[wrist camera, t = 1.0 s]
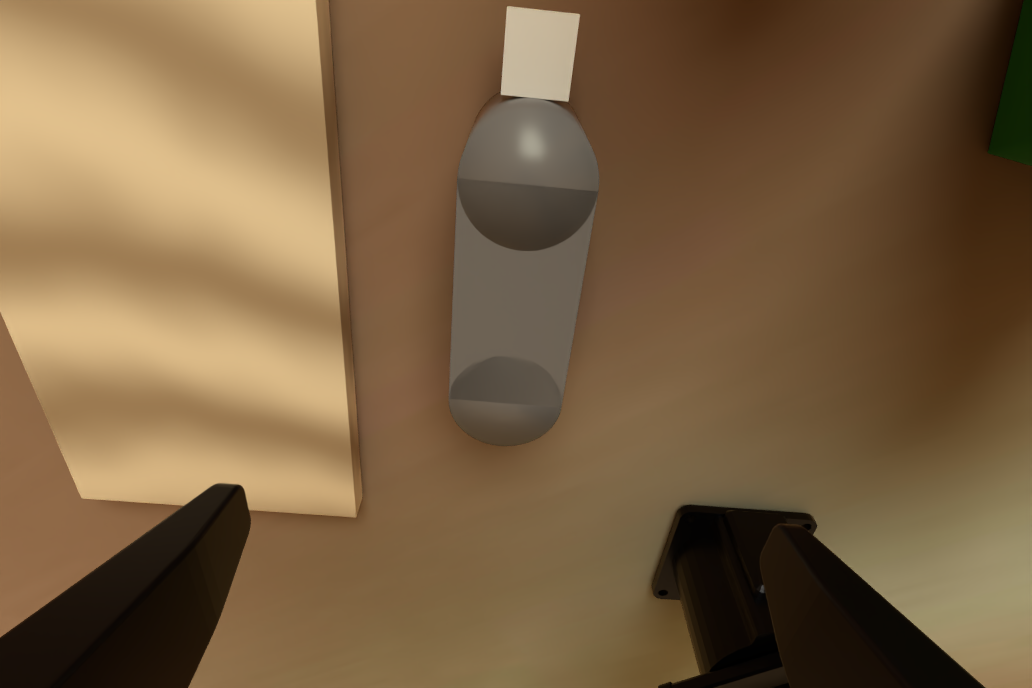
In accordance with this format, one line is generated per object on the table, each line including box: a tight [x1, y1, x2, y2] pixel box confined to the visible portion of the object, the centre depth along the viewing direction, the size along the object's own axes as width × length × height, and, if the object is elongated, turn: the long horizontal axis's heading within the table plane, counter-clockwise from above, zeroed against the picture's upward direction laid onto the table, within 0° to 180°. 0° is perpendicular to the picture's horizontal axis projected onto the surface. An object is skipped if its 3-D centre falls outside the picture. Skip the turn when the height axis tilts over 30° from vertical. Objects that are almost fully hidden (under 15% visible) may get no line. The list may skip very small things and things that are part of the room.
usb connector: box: [449, 6, 599, 446], centre depth 18 cm, size 13×4×4 cm, turn 175°
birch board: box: [0, 0, 363, 517], centre depth 20 cm, size 22×12×1 cm, turn 175°
